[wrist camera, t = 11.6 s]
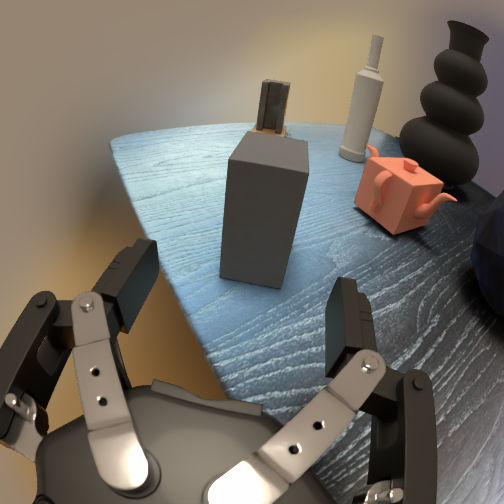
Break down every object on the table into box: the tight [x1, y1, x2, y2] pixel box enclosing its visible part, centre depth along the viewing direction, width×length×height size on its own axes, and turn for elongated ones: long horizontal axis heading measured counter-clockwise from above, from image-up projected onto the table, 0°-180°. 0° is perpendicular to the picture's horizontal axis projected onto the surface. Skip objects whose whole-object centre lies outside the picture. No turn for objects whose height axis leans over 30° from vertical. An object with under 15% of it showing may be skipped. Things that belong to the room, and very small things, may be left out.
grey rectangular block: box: [219, 131, 309, 289], centre depth 24 cm, size 5×9×10 cm, turn 171°
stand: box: [251, 79, 290, 137], centre depth 51 cm, size 6×15×11 cm, turn 171°
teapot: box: [354, 144, 457, 235], centre depth 33 cm, size 12×15×8 cm
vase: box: [399, 21, 489, 190], centre depth 42 cm, size 18×18×35 cm
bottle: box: [339, 35, 384, 162], centre depth 45 cm, size 5×5×25 cm
